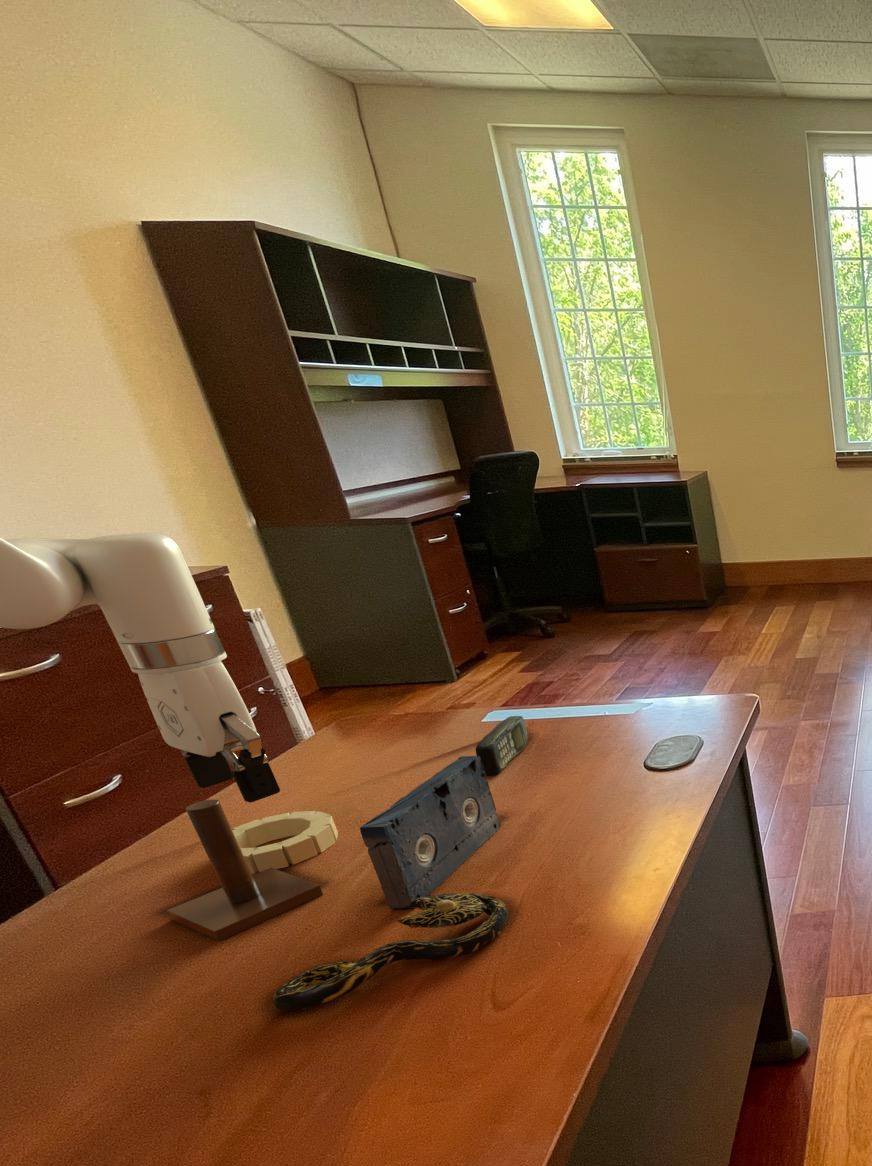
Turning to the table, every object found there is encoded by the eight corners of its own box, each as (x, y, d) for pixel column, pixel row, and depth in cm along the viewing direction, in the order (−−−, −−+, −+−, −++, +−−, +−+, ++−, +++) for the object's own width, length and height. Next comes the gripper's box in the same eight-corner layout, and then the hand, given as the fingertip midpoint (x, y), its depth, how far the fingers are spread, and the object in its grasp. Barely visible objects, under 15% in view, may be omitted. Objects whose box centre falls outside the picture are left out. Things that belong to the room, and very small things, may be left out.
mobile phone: (493, 746, 111) (528, 707, 125) (469, 747, 111) (507, 708, 124) (502, 777, 113) (536, 736, 127) (478, 779, 113) (515, 737, 126)
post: (171, 919, 81) (117, 815, 76) (275, 876, 89) (232, 779, 84) (219, 941, 78) (167, 833, 73) (323, 894, 85) (282, 794, 81)
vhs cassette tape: (481, 826, 99) (459, 755, 95) (506, 826, 100) (485, 754, 96) (384, 911, 83) (352, 828, 79) (413, 910, 83) (383, 827, 79)
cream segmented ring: (194, 862, 91) (186, 844, 90) (304, 821, 100) (298, 804, 99) (248, 883, 87) (240, 865, 86) (358, 838, 97) (351, 821, 96)
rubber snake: (257, 980, 65) (267, 931, 72) (274, 1026, 66) (283, 974, 74) (509, 908, 76) (496, 872, 83) (520, 950, 77) (506, 911, 84)
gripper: (88, 651, 86) (160, 791, 93) (172, 670, 80) (242, 817, 87) (177, 634, 92) (237, 766, 99) (261, 650, 86) (319, 789, 93)
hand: (239, 790), depth 93 cm, fingers open, 9 cm apart
